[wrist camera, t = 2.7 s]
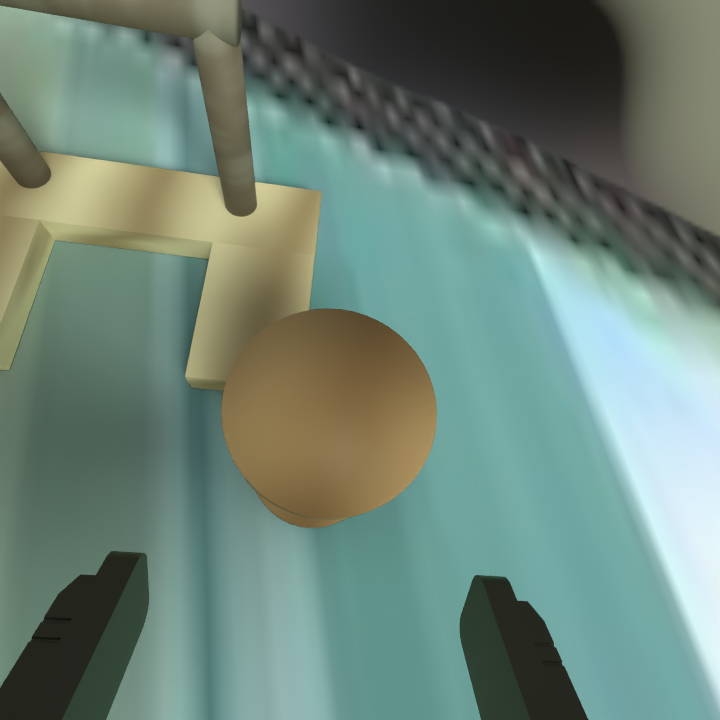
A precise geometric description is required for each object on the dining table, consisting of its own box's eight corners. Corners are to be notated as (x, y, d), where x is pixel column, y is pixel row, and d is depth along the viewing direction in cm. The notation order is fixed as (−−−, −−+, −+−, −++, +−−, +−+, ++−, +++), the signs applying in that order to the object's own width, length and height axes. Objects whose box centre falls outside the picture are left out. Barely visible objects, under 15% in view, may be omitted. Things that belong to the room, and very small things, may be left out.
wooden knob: (243, 523, 20) (202, 510, 11) (260, 398, 22) (239, 297, 13) (371, 531, 21) (437, 526, 11) (377, 409, 23) (436, 320, 14)
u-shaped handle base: (-113, 358, 20) (-574, 153, 10) (-24, 163, 24) (-277, -139, 14) (299, 398, 22) (306, 264, 11) (319, 210, 26) (340, -21, 15)
